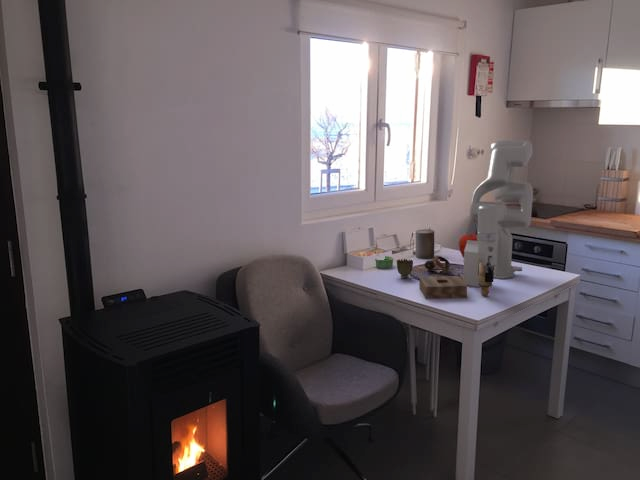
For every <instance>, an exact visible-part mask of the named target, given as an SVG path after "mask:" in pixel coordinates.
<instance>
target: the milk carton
mask: <svg viewBox="0 0 640 480" xmlns="http://www.w3.org/2000/svg"><path fill="white" fill-rule="evenodd" d="M478 244H479V241H469V240H467V244H466V247H465V250H464V258H463V277H462V278H463V279H462V281H463V282H464V283H465V284H466V285H467V286H471V287H477V288H478V287H479V288H481V286H479V285H478V283H479V275H478V263H479V261H478Z"/></svg>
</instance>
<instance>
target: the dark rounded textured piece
mask: <svg viewBox="0 0 640 480" xmlns="http://www.w3.org/2000/svg"><path fill="white" fill-rule="evenodd" d="M413 264H414V261H413V259H407V258H406V259H405V258H404V259H402V258H401V259H398V260H396V268H397V272H398V274H400V278H401V279H403V280H404V279H408V278H410V276H409V275H410V274H411V273H412V272H413V268H414V267H413V266H414V265H413Z"/></svg>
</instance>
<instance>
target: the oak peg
mask: <svg viewBox="0 0 640 480" xmlns="http://www.w3.org/2000/svg"><path fill="white" fill-rule="evenodd" d="M487 265H490V264H487ZM488 268H489V267H488ZM485 272H486V269H485V266H483V265H482V264H481V263H479V283H478V285H479V286H480V295H481V297H485V298H487V297H489V294H490V287H492V286H493V282H485Z"/></svg>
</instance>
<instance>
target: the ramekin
mask: <svg viewBox="0 0 640 480" xmlns="http://www.w3.org/2000/svg"><path fill="white" fill-rule="evenodd" d="M384 256H385V259H384V260H377V259H375V258H374V259H375V266H377V267H376V268H378V269H382V270H384V269H386V270H387V269H392V268H393V265H394V264H393V263H394V257H392V256H389V255H384Z"/></svg>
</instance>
